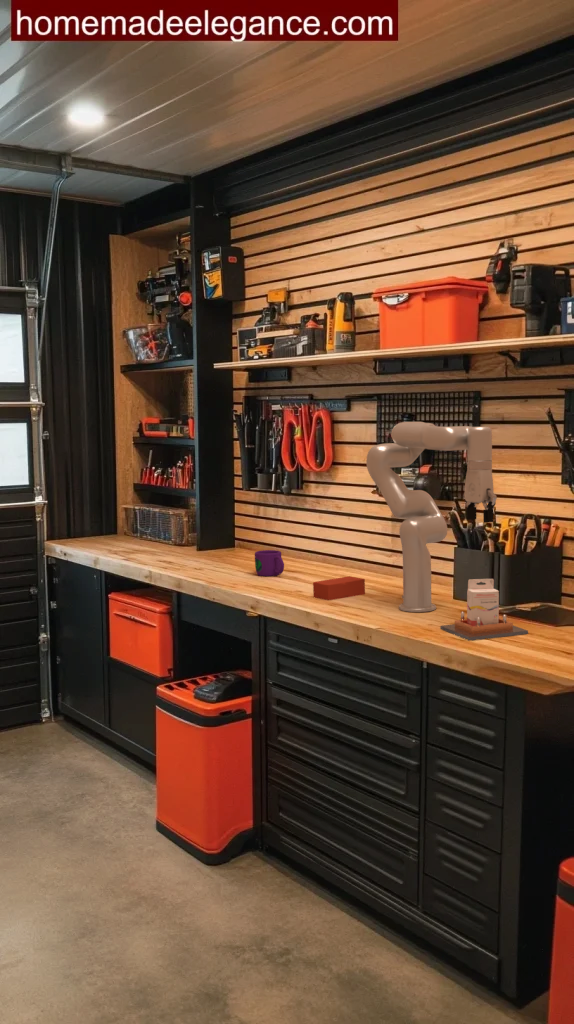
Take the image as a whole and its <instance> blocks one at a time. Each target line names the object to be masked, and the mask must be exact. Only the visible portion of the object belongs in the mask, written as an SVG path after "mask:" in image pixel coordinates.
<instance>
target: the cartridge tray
mask: <svg viewBox="0 0 574 1024" xmlns="http://www.w3.org/2000/svg"><path fill="white" fill-rule="evenodd" d="M513 623H514V622H512V621H509V620H507V614H502V618H500V617H499V623H497V624H488V625H480V617H477V626H471V625H469V624H467V618H466V619H465V611H461V612H460V619H457V620H454V624H453V623H452V624H445V625H440V626H439V628H440V630H442V631H444V632H447V633H450V634H452V635H454V634H455V635H454V636H457V637H459V636H460V637H459V638H462V639H464V638H465V639H464V640H466V639H468V640H467V641H469V640H472V641H477V640H476V639H480V640H487V639H488V638H489V639H495V638H496V639H497V638H504V637H505V638H506V637H512V636H513V637H514V636H520V635H521V636H523V635H528V634H529V630H527V629H525V628H522V627H519V626H516V625H513ZM485 638H487V639H485ZM489 639H488V640H489Z"/></svg>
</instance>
